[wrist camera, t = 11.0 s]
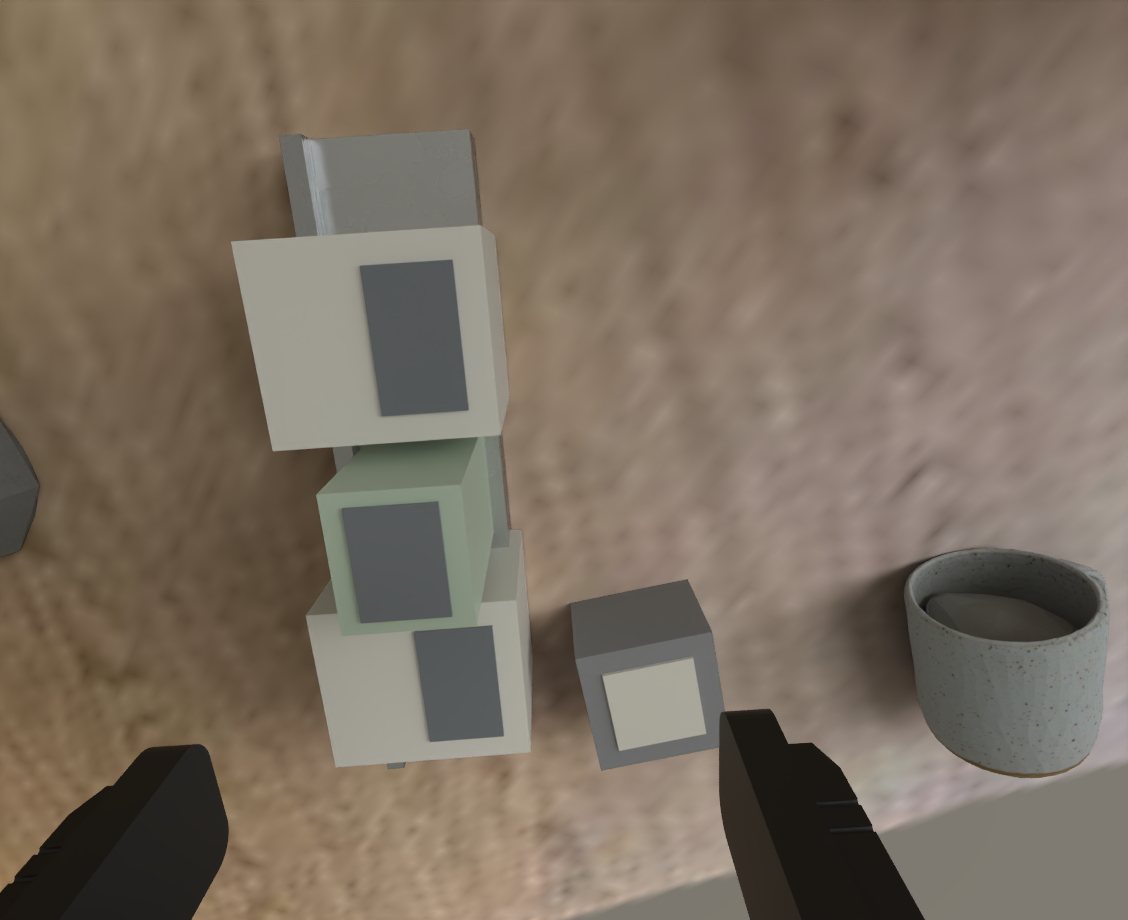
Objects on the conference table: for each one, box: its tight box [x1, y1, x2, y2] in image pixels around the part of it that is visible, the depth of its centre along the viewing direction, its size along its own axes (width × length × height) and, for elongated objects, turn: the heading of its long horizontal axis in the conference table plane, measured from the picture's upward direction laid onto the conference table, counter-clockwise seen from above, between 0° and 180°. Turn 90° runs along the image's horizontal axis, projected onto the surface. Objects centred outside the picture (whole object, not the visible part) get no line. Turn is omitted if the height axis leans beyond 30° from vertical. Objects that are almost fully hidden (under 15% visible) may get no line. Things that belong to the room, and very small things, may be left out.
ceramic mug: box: [904, 548, 1110, 778], centre depth 30 cm, size 11×8×8 cm
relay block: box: [570, 579, 725, 771], centre depth 31 cm, size 6×6×5 cm
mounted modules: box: [231, 225, 533, 767], centre depth 27 cm, size 8×20×7 cm, turn 4°
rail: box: [279, 129, 511, 769], centre depth 29 cm, size 7×28×3 cm, turn 4°
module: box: [316, 436, 494, 636], centre depth 25 cm, size 4×5×8 cm
